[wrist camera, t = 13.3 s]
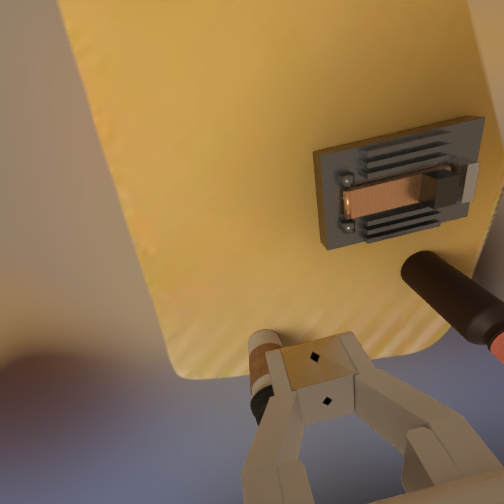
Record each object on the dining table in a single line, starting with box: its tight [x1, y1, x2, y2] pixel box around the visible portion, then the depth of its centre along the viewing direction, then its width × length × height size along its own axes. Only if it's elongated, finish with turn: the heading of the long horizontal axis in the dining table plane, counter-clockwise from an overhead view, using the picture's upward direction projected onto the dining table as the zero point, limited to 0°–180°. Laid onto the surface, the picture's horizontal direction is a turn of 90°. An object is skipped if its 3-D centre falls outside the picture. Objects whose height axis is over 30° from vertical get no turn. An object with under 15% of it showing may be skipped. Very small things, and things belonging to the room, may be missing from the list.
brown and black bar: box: [343, 165, 461, 219], centre depth 39 cm, size 4×4×15 cm
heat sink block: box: [313, 116, 485, 250], centre depth 41 cm, size 22×14×6 cm, turn 101°
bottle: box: [401, 251, 504, 364], centre depth 43 cm, size 7×7×20 cm
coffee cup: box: [248, 330, 283, 426], centre depth 49 cm, size 8×8×15 cm
